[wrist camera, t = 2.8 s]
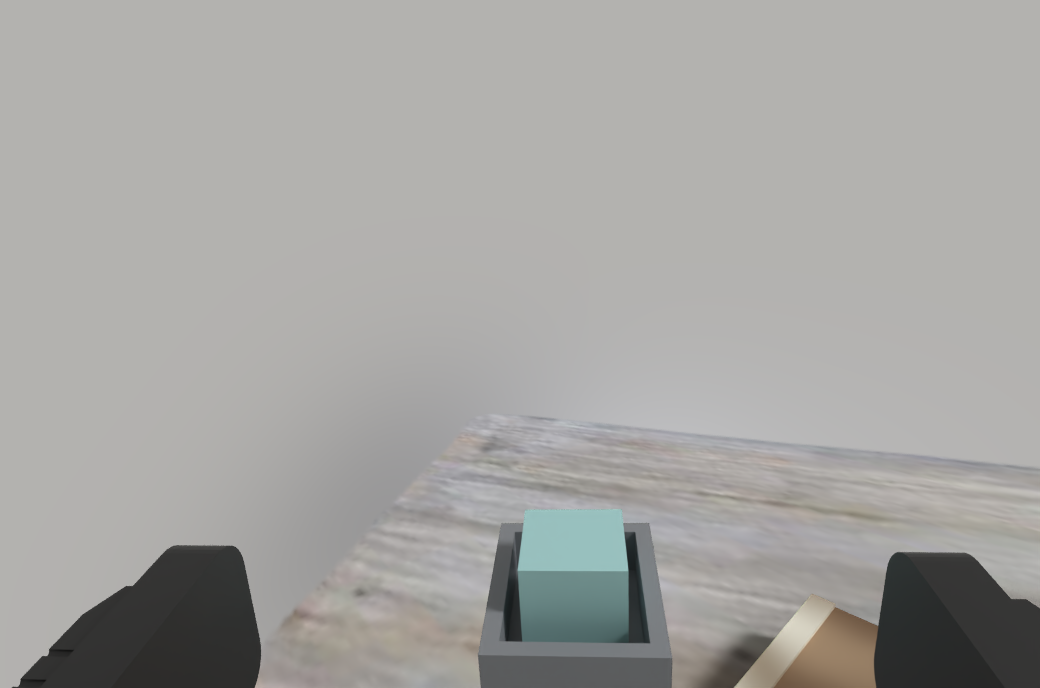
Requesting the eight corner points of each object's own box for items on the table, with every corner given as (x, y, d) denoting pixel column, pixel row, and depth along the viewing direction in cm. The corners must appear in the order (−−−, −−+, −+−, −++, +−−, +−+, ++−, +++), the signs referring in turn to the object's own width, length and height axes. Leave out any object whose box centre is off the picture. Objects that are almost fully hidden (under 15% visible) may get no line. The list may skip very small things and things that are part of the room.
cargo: (628, 659, 20) (628, 571, 19) (523, 657, 20) (517, 570, 19) (622, 589, 23) (621, 509, 22) (530, 588, 23) (525, 509, 22)
